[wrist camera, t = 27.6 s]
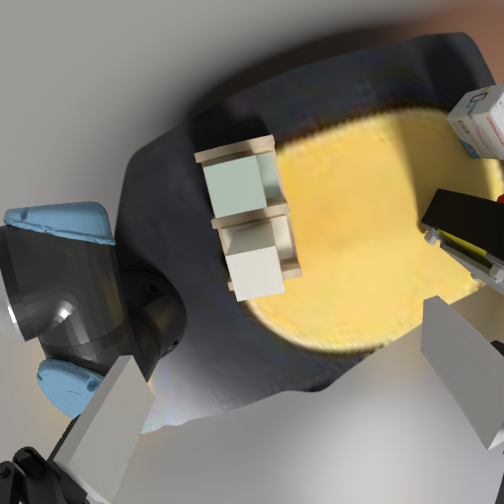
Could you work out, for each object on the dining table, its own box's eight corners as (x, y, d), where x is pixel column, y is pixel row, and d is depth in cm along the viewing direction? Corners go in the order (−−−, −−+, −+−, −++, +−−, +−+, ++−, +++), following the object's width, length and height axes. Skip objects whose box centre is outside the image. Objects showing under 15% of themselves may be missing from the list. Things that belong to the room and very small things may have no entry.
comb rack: (232, 280, 44) (229, 290, 40) (200, 154, 39) (194, 153, 35) (299, 267, 43) (302, 276, 39) (271, 137, 38) (272, 134, 34)
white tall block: (244, 264, 42) (237, 301, 31) (235, 230, 41) (225, 256, 29) (279, 257, 42) (285, 292, 30) (271, 222, 40) (275, 245, 29)
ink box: (492, 130, 35) (536, 129, 24) (471, 159, 37) (517, 163, 26) (466, 91, 33) (509, 80, 22) (443, 118, 35) (489, 111, 24)
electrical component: (414, 233, 41) (496, 279, 22) (442, 178, 38) (533, 195, 19) (473, 279, 43) (542, 330, 23) (497, 233, 40) (573, 267, 21)
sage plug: (229, 203, 40) (215, 218, 28) (220, 167, 38) (203, 167, 27) (265, 194, 39) (267, 207, 28) (257, 158, 38) (255, 155, 26)
